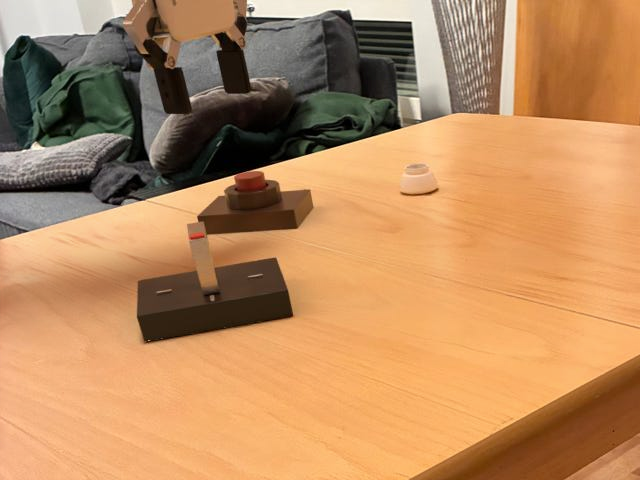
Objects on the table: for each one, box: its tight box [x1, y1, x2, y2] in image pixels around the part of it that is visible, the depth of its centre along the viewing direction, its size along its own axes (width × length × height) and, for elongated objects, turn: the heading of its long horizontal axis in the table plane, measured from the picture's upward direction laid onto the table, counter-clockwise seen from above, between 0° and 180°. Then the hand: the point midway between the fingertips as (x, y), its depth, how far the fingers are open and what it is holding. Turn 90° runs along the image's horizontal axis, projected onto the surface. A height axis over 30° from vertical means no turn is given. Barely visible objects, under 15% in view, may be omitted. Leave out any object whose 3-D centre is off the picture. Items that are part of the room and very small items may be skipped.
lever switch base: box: [136, 256, 294, 342], centre depth 94 cm, size 14×11×3 cm
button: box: [233, 170, 267, 192], centre depth 117 cm, size 4×4×2 cm
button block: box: [196, 179, 315, 236], centre depth 118 cm, size 12×9×4 cm
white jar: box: [398, 162, 440, 196], centre depth 124 cm, size 5×3×5 cm
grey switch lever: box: [186, 221, 220, 295], centre depth 92 cm, size 6×2×5 cm, turn 15°
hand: (209, 102), depth 100 cm, fingers open, 9 cm apart
